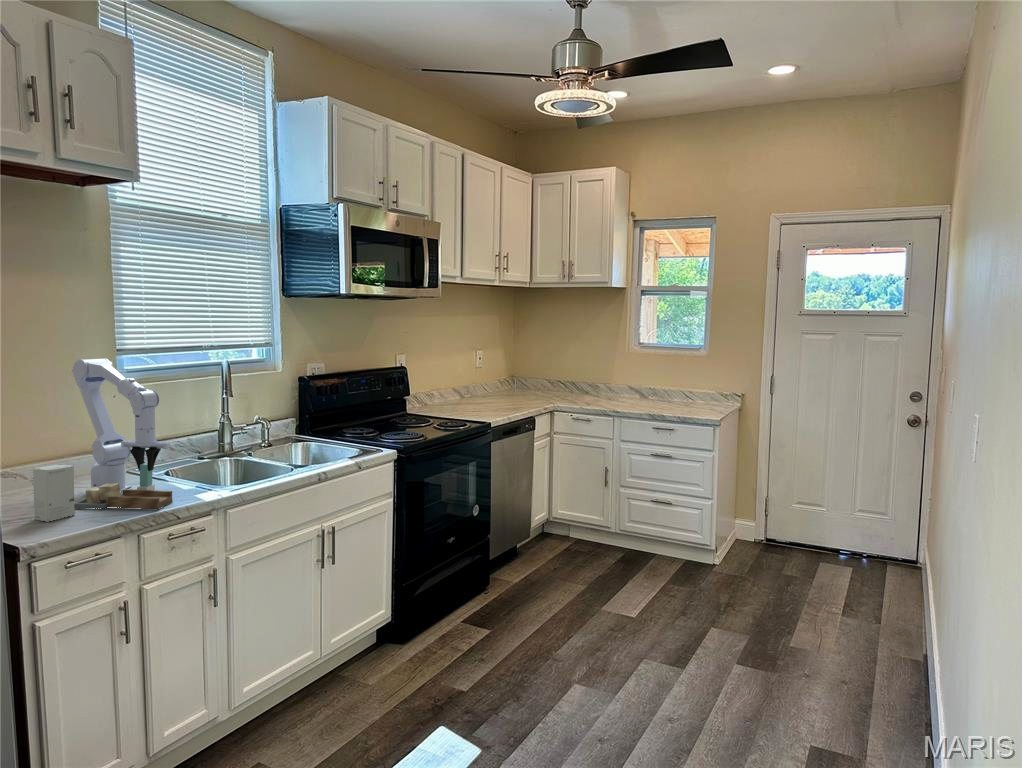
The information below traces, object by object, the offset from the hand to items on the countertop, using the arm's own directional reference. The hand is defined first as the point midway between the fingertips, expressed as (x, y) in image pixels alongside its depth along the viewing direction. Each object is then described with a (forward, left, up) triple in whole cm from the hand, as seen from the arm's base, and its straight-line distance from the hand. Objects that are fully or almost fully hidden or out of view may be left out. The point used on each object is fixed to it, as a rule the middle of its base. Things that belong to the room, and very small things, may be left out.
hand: (145, 470), depth 221 cm
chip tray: (-9, -10, -8) cm, 16 cm away
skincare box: (-13, -25, -9) cm, 29 cm away
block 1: (-8, -10, -6) cm, 14 cm away
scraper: (0, 0, -7) cm, 7 cm away
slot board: (+3, -10, -8) cm, 14 cm away
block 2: (-6, -10, -7) cm, 13 cm away
